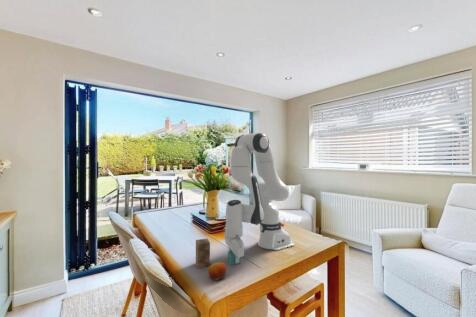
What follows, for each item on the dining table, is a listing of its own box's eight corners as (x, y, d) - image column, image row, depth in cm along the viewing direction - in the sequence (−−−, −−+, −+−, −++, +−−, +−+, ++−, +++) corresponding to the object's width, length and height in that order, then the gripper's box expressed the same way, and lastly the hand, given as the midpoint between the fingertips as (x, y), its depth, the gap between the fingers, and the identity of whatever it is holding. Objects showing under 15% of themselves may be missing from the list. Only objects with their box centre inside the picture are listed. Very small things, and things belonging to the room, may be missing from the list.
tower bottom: (207, 261, 119) (207, 250, 119) (209, 266, 114) (209, 254, 114) (195, 263, 117) (195, 251, 117) (197, 268, 112) (197, 256, 112)
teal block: (236, 259, 122) (236, 249, 122) (240, 263, 117) (240, 253, 117) (228, 260, 120) (228, 251, 120) (230, 264, 116) (230, 255, 116)
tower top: (207, 250, 119) (207, 238, 119) (209, 254, 114) (209, 242, 113) (195, 251, 117) (195, 239, 117) (197, 256, 112) (197, 244, 111)
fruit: (216, 282, 96) (211, 263, 100) (208, 285, 102) (204, 266, 105) (232, 277, 101) (227, 258, 104) (224, 279, 107) (219, 261, 110)
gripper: (247, 238, 110) (247, 266, 110) (233, 225, 129) (233, 250, 130) (234, 239, 108) (234, 268, 108) (222, 227, 127) (222, 251, 127)
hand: (234, 258), depth 119 cm, fingers open, 8 cm apart
